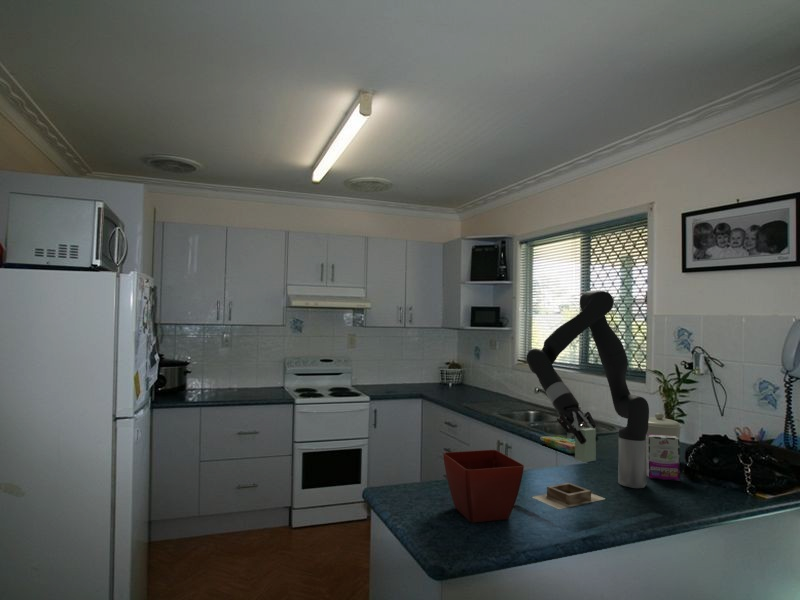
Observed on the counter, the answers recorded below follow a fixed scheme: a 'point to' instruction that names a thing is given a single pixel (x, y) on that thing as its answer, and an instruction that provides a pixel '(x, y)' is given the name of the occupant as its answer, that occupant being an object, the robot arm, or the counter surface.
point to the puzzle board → (567, 496)
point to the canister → (663, 426)
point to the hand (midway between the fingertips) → (590, 441)
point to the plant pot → (483, 483)
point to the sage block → (586, 445)
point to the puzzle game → (560, 443)
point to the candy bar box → (663, 457)
